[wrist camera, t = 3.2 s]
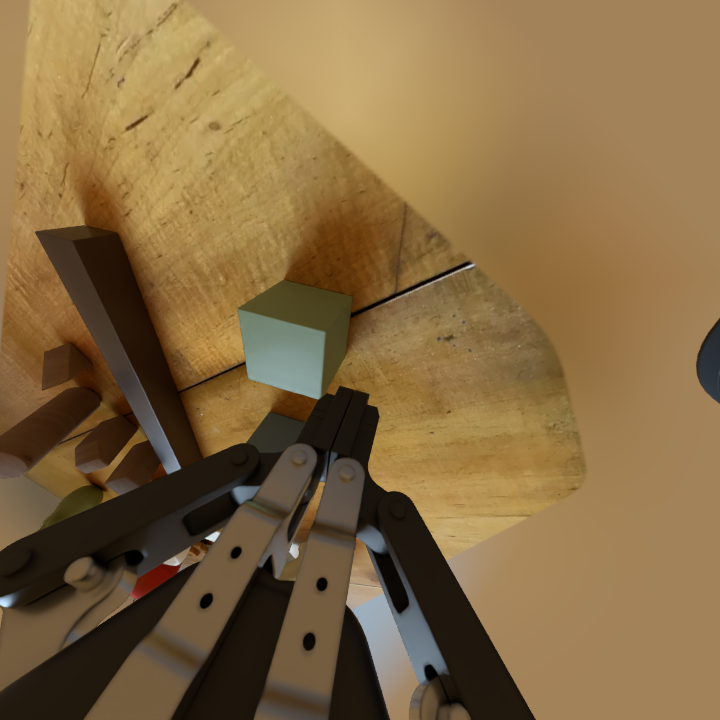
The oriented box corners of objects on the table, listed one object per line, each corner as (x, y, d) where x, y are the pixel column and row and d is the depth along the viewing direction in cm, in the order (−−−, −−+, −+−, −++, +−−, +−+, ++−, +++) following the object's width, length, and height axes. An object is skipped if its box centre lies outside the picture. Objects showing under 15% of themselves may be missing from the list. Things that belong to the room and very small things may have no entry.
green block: (353, 296, 17) (326, 331, 13) (345, 357, 20) (321, 401, 16) (283, 279, 18) (236, 307, 14) (285, 341, 21) (247, 379, 17)
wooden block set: (185, 438, 39) (146, 505, 30) (131, 457, 39) (78, 529, 30) (82, 335, 30) (-16, 388, 21) (14, 361, 30) (-111, 423, 21)
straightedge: (118, 233, 19) (71, 240, 17) (215, 492, 41) (201, 511, 39) (84, 224, 19) (33, 231, 17) (198, 486, 42) (184, 504, 39)
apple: (170, 540, 67) (127, 598, 57) (196, 559, 71) (159, 616, 62) (148, 537, 71) (104, 590, 61) (173, 555, 75) (136, 607, 66)
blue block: (316, 425, 26) (292, 470, 22) (314, 455, 29) (293, 499, 25) (269, 411, 26) (238, 452, 22) (272, 441, 29) (245, 482, 25)
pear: (81, 477, 56) (21, 527, 48) (99, 483, 55) (41, 535, 47) (96, 491, 59) (42, 540, 51) (114, 497, 58) (62, 548, 50)
